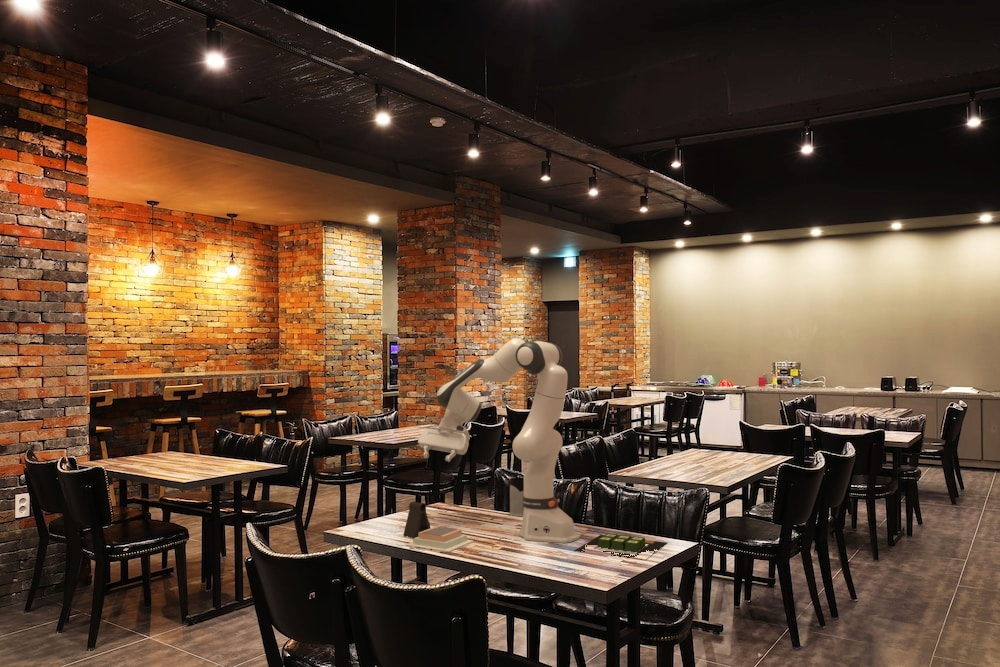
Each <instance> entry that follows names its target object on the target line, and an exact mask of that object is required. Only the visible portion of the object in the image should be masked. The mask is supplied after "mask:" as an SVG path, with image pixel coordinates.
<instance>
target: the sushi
mask: <svg viewBox="0 0 1000 667" xmlns="http://www.w3.org/2000/svg"><path fill="white" fill-rule="evenodd" d="M668 543H669V542H665V541H657V540H649V539H646V537H641V536H632V535H626V534H625V535H623V534H617V533H606V534H599V535H598V536H596V537H594V538H593V539H591V540H589V541H588V542H586V543H584V544H582V545H581V546H579V547H578V548H576V549H574V550H573V551H574V552H575V551H580V552H579V553H582V552H581V551H583V550H582V549H584V550H585V545H586V544H587V545H598V547H601V548H600V549H603V548H608V549H607V550H606V551H603V552H611V554H614V552H615V553H619V555H618V554H617V556H619V557H618V558H621V556H622V555H629V556H630V554H631V553H634V552H637V553H634V554H635V556H637V555H639V554H638V553H641V552H646V550H647V551H648V550H649V551H654V549H655V550H656V549H657V550H658V551H659V549H660V548H661V547H662V548H663V547H665V546H666V545H667V544H668ZM646 544H649V545H646ZM587 545H586V547H587ZM664 545H665V546H664ZM598 547H597V548H598ZM611 547H612V548H611ZM643 547H644V548H643ZM610 548H611V549H610ZM642 548H643V549H642ZM662 548H661V549H662ZM612 549H614V550H612ZM624 549H625V550H624ZM661 549H660V550H661ZM611 550H612V551H611ZM619 550H624V552H622V551H620V552H619ZM639 550H640V551H639ZM626 551H631V552H628V553H627V552H626ZM638 551H639V552H638ZM583 552H585V551H583ZM612 552H613V553H612ZM654 552H655V551H654ZM621 553H622V554H621ZM623 553H624V554H623ZM620 554H621V555H620ZM636 554H637V555H636ZM613 556H616V555H613ZM613 556H612V555H611V556H610V557H613ZM629 556H628V557H627V556H626V557H627V558H626V559H628V558H630V557H635V556H634V555H633V556H632V555H631V556H630V557H629ZM624 557H625V556H624Z"/></svg>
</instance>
